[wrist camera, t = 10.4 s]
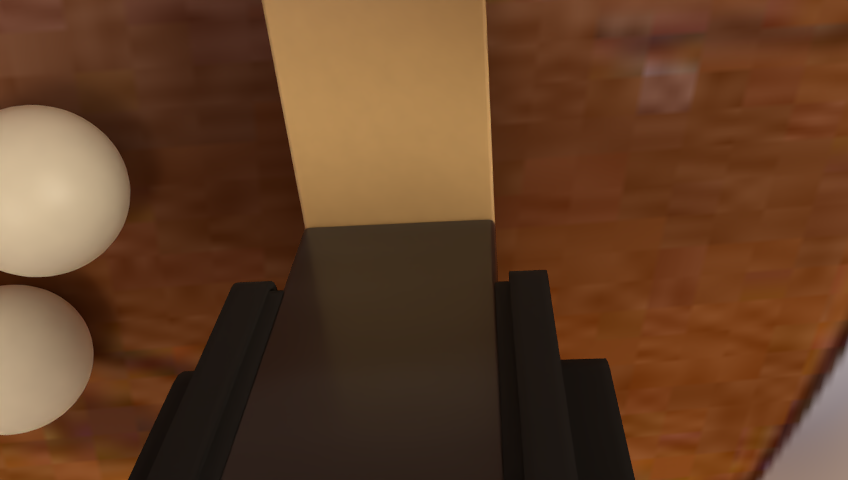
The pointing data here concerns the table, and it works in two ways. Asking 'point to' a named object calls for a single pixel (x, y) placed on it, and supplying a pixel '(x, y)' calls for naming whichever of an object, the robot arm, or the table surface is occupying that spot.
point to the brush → (382, 251)
